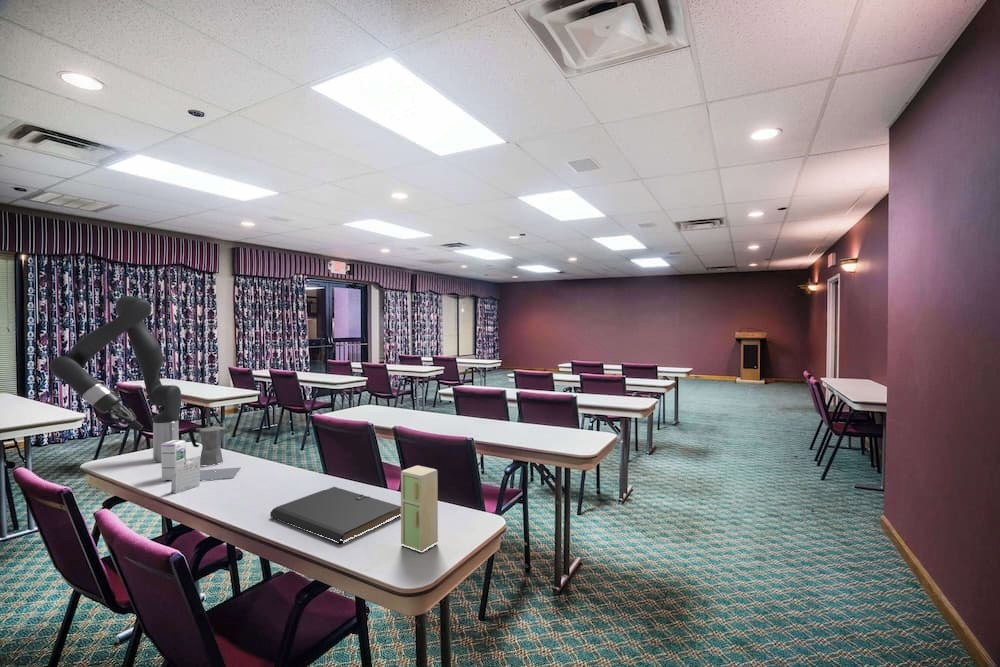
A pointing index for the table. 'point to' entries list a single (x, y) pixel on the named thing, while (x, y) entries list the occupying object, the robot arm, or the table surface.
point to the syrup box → (172, 457)
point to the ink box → (186, 475)
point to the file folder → (336, 513)
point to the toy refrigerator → (419, 507)
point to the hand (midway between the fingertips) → (140, 428)
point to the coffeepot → (209, 443)
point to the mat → (218, 473)
